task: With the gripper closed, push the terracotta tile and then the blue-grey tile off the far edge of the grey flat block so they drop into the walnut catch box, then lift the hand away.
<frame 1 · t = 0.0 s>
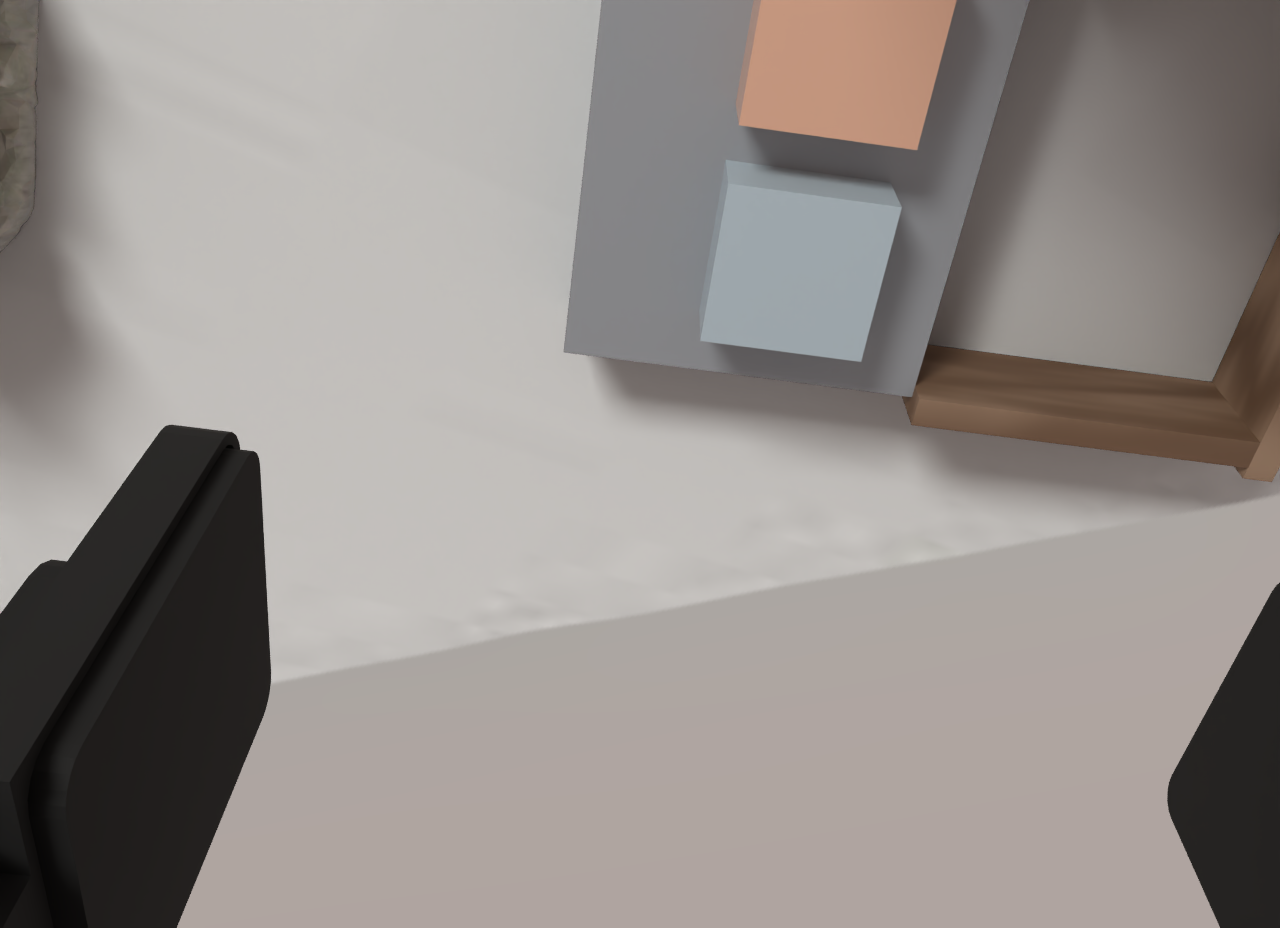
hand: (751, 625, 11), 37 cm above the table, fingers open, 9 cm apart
catch box: (1146, 159, 45), on the table
terracotta tile: (839, 27, 39), point 4 cm above the table, touching grey flat block
grey flat block: (778, 107, 45), on the table
blue-grey tile: (791, 249, 44), point 4 cm above the table, touching grey flat block
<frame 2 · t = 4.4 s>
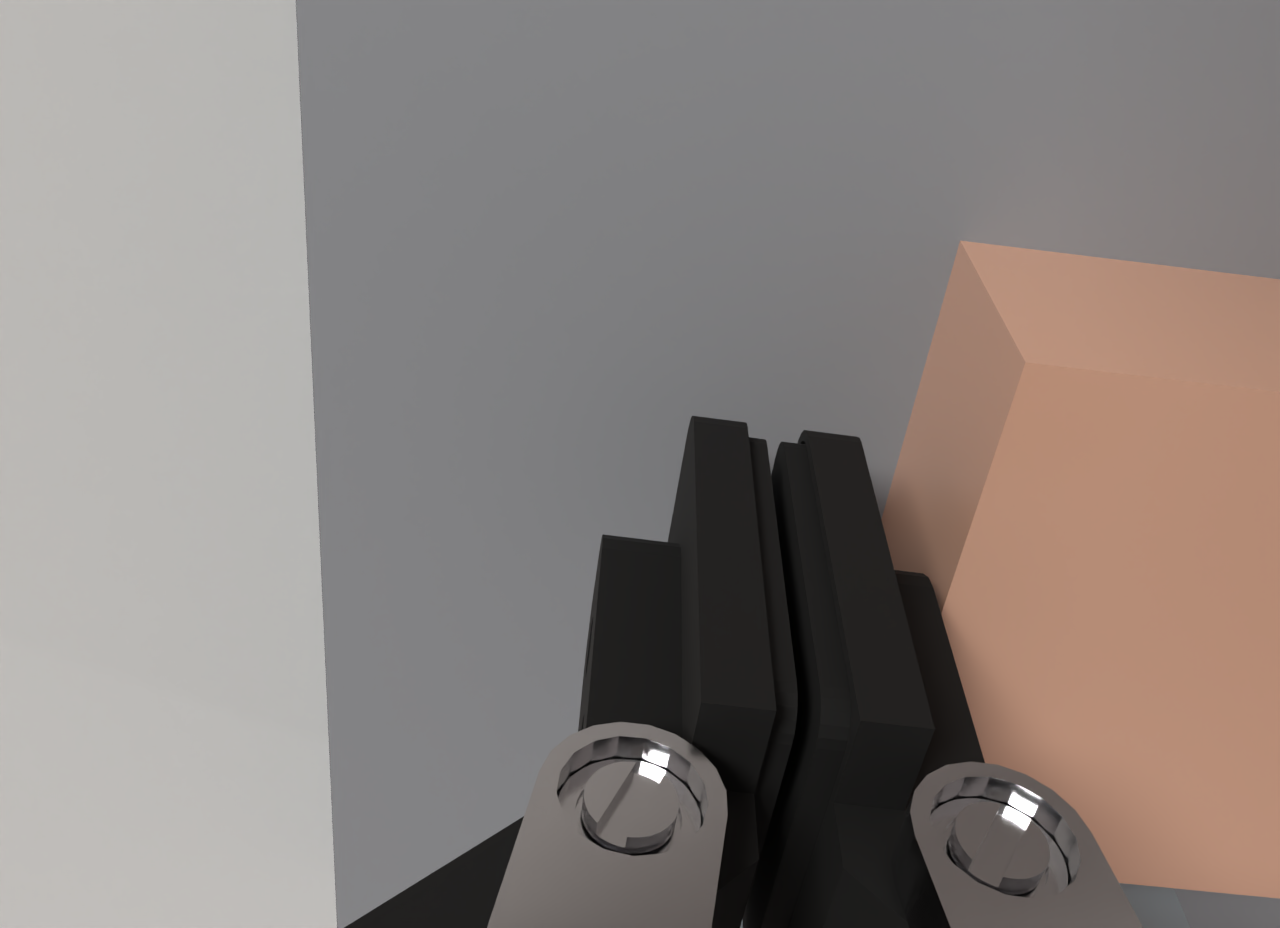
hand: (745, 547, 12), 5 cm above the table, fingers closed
terracotta tile: (1152, 523, 13), point 4 cm above the table, touching gripper, grey flat block
grey flat block: (836, 558, 18), on the table
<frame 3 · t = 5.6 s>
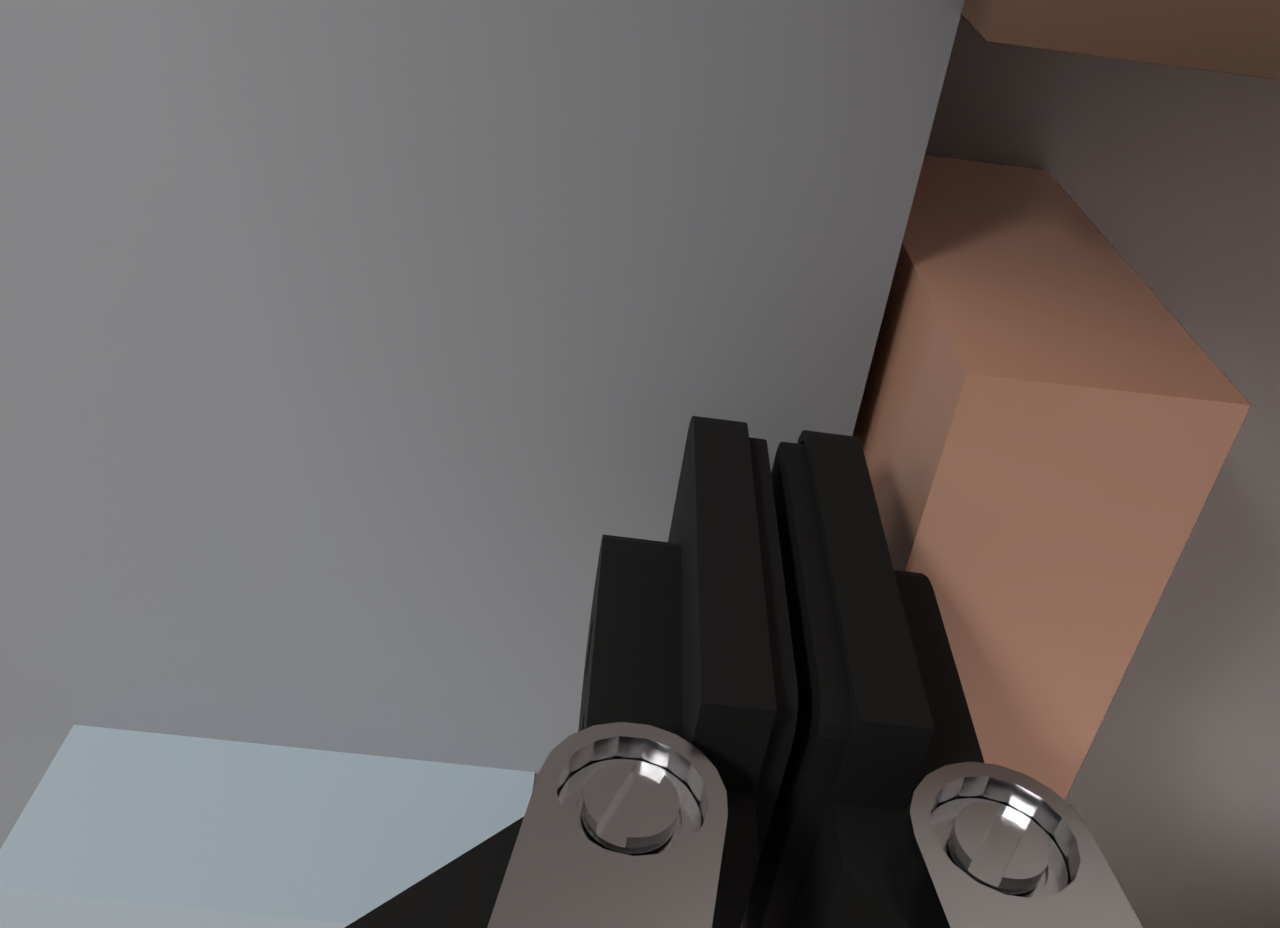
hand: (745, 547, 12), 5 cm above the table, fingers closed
catch box: (1218, 605, 19), on the table
terracotta tile: (838, 472, 14), point 3 cm above the table, tilted 92°, touching gripper
grey flat block: (307, 503, 18), on the table
blue-grey tile: (313, 893, 17), point 4 cm above the table, touching grey flat block
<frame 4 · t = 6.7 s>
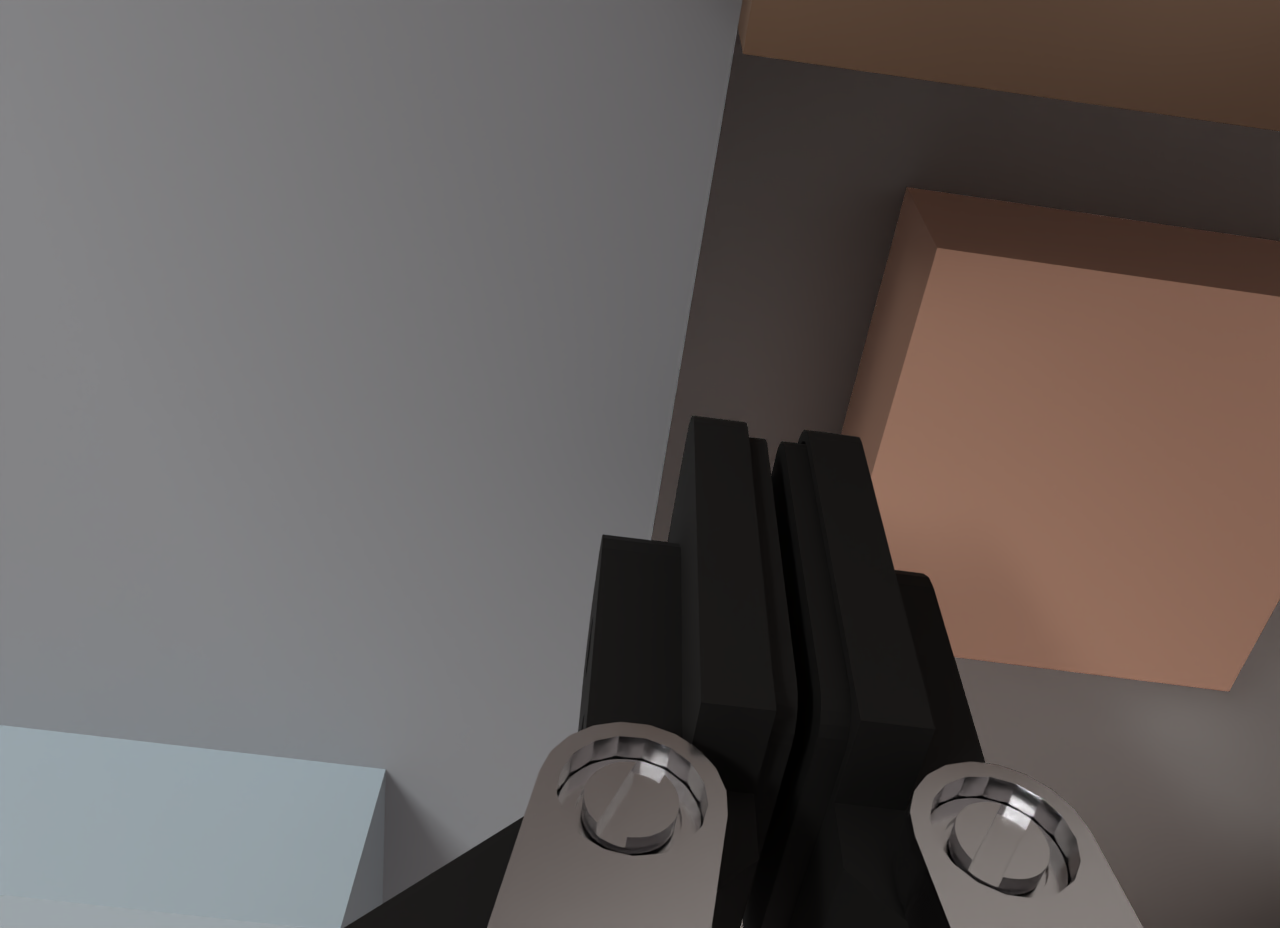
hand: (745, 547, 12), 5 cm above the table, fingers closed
catch box: (1086, 615, 19), on the table
terracotta tile: (1099, 494, 15), point 2 cm above the table, tilted 180°
grey flat block: (185, 503, 18), on the table
blue-grey tile: (177, 889, 17), point 4 cm above the table, touching grey flat block
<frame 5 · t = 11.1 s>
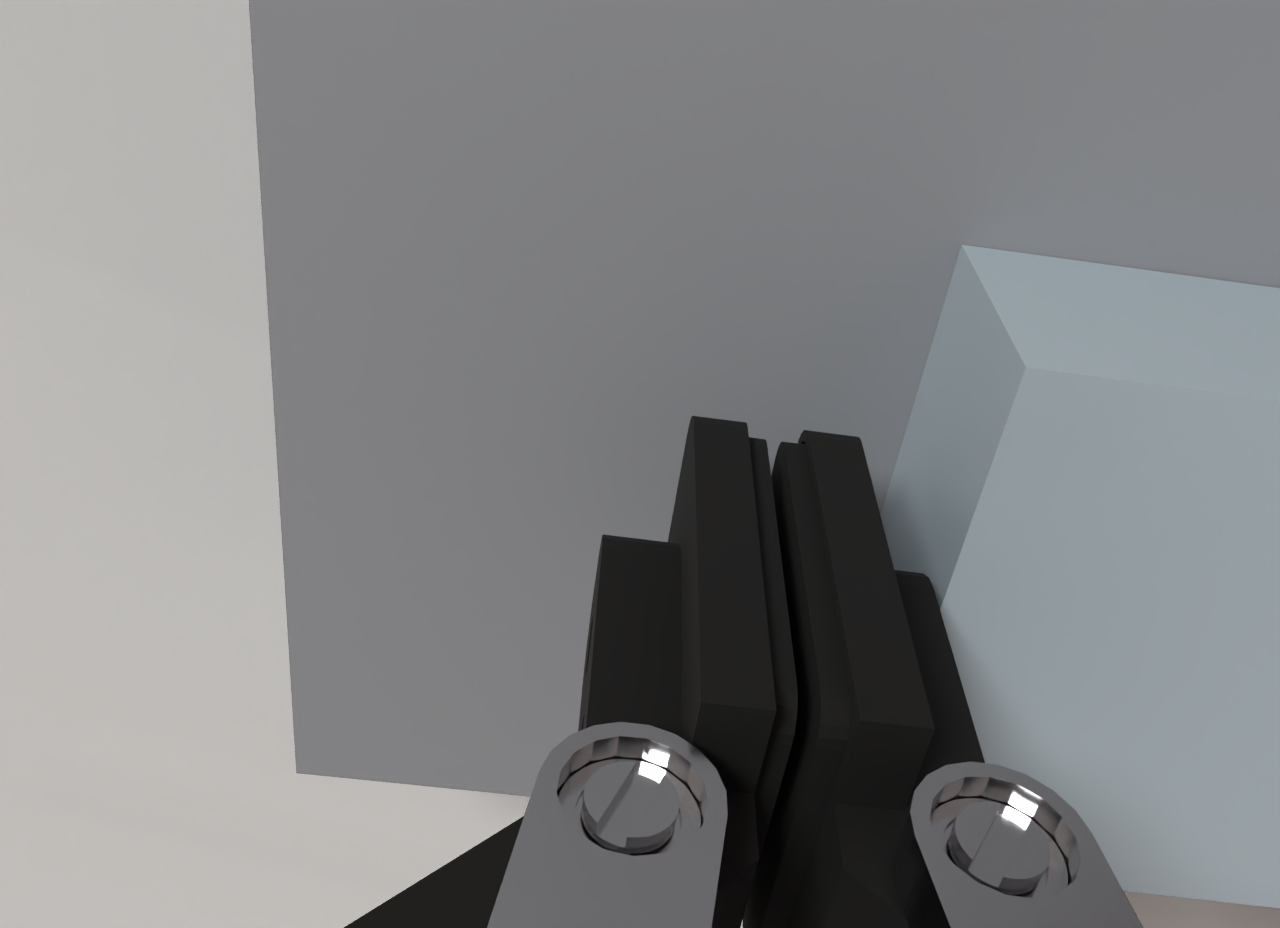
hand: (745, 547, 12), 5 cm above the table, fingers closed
grey flat block: (938, 33, 14), on the table
blue-grey tile: (1149, 531, 13), point 4 cm above the table, touching gripper
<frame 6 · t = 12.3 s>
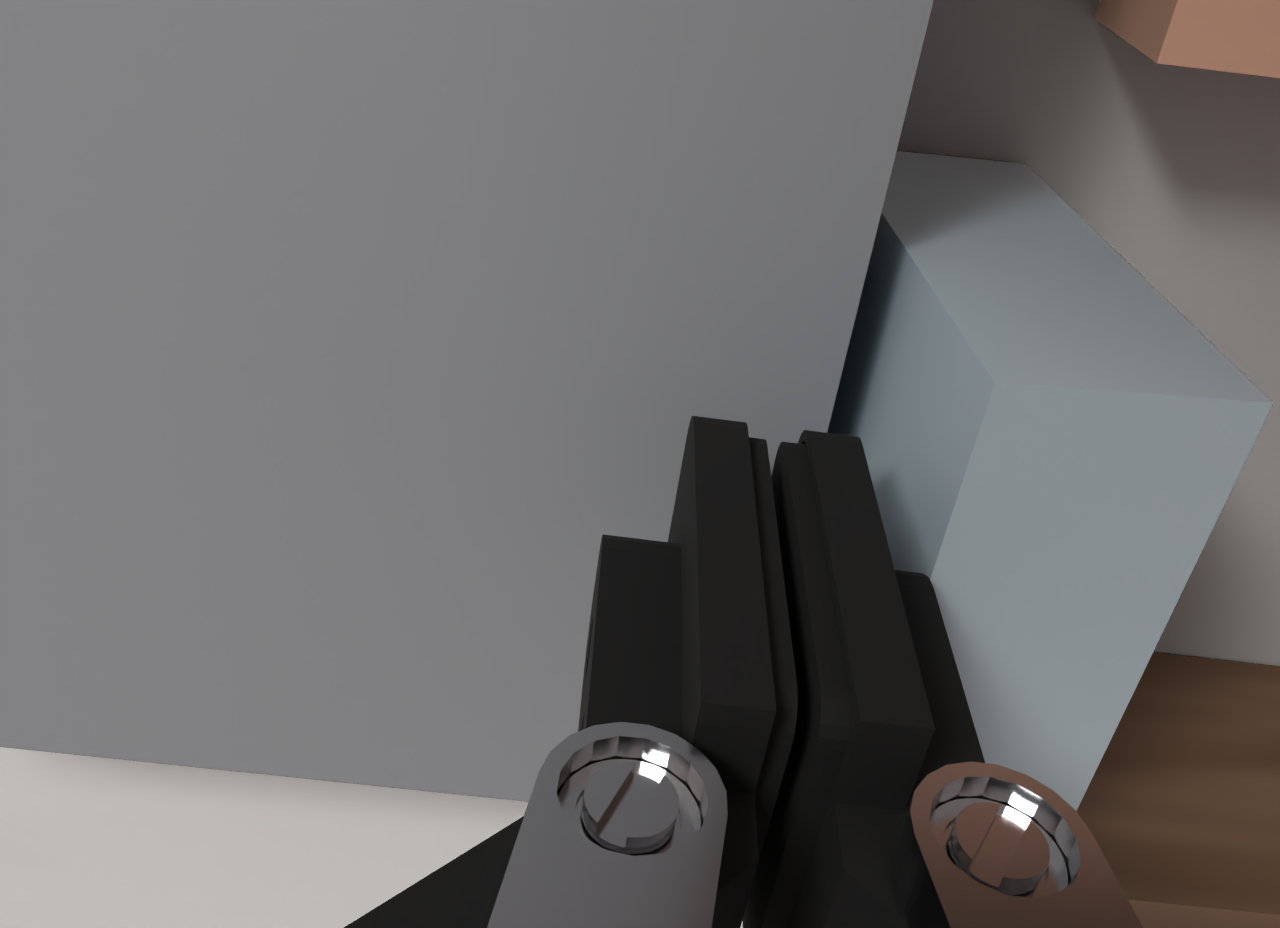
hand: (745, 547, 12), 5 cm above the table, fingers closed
blue-grey tile: (837, 478, 14), point 3 cm above the table, tilted 96°, touching gripper
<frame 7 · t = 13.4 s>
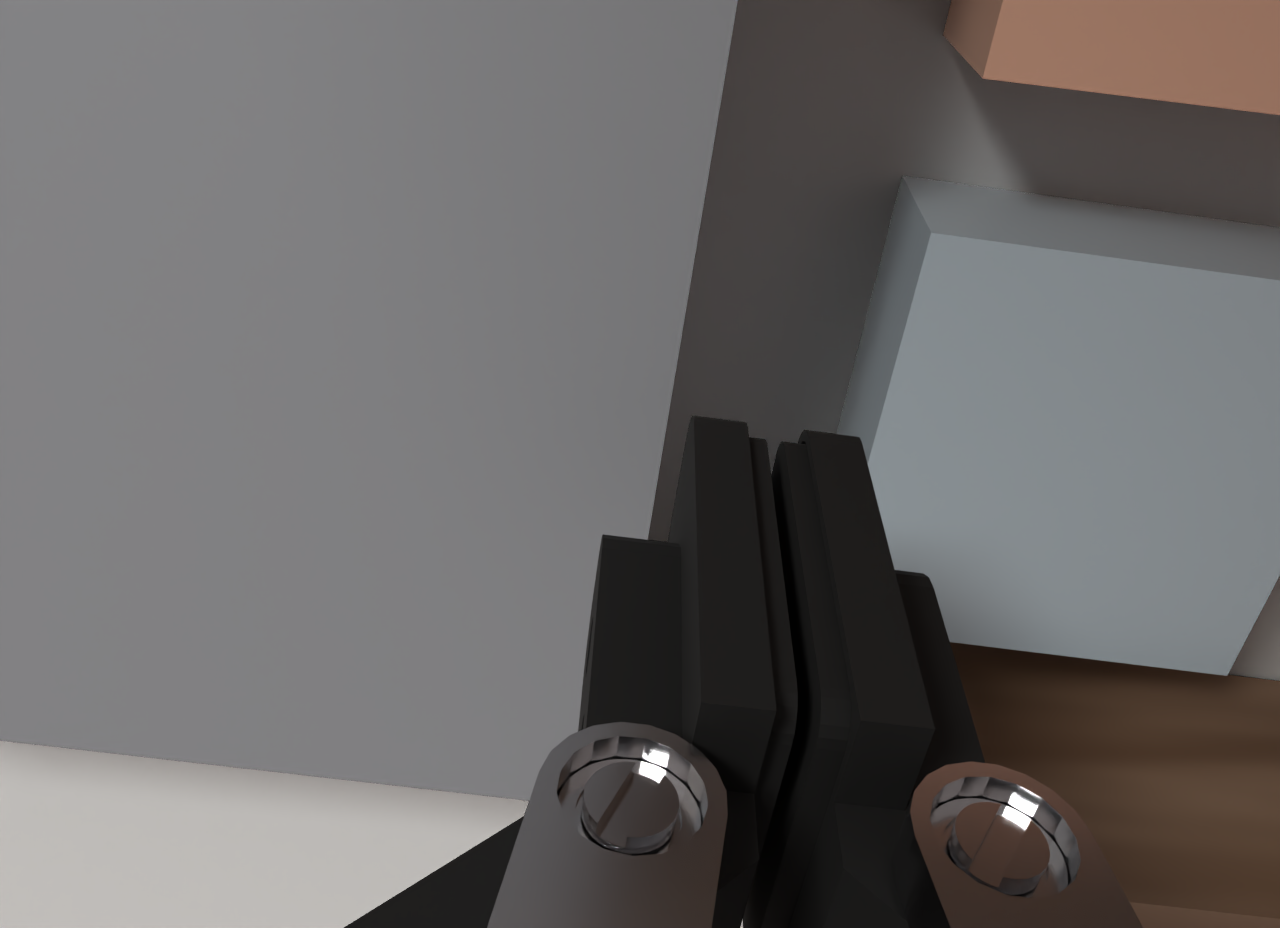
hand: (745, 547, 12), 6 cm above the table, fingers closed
blue-grey tile: (1095, 478, 15), point 2 cm above the table, tilted 180°
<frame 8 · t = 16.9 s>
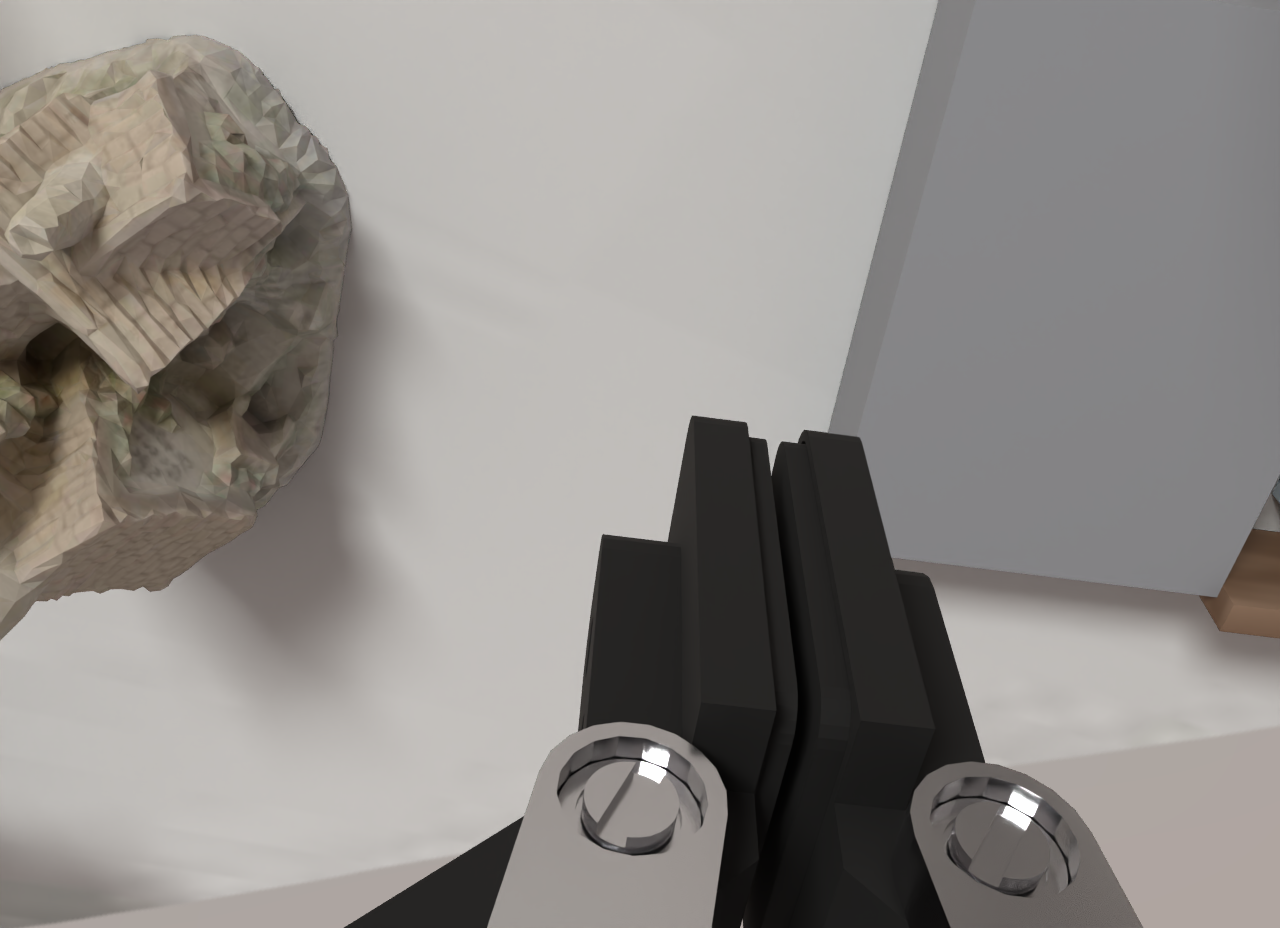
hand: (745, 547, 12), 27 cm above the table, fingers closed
grey flat block: (1080, 277, 39), on the table
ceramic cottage: (178, 298, 41), on the table
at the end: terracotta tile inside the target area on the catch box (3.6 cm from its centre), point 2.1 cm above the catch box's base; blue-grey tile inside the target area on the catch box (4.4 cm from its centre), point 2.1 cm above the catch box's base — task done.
